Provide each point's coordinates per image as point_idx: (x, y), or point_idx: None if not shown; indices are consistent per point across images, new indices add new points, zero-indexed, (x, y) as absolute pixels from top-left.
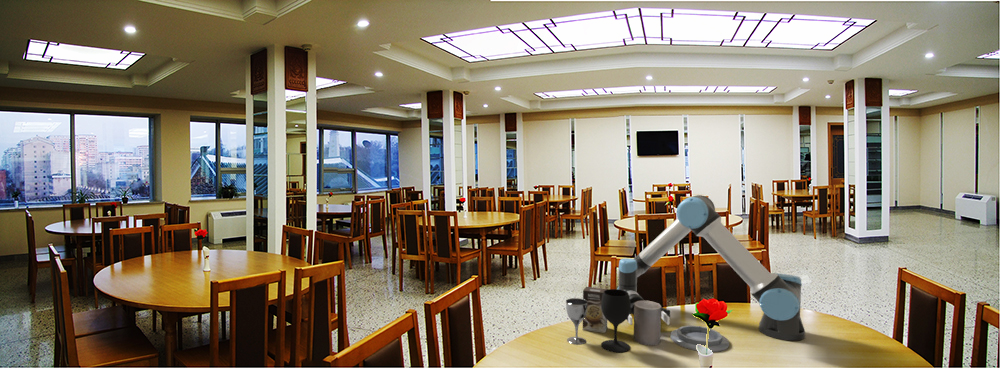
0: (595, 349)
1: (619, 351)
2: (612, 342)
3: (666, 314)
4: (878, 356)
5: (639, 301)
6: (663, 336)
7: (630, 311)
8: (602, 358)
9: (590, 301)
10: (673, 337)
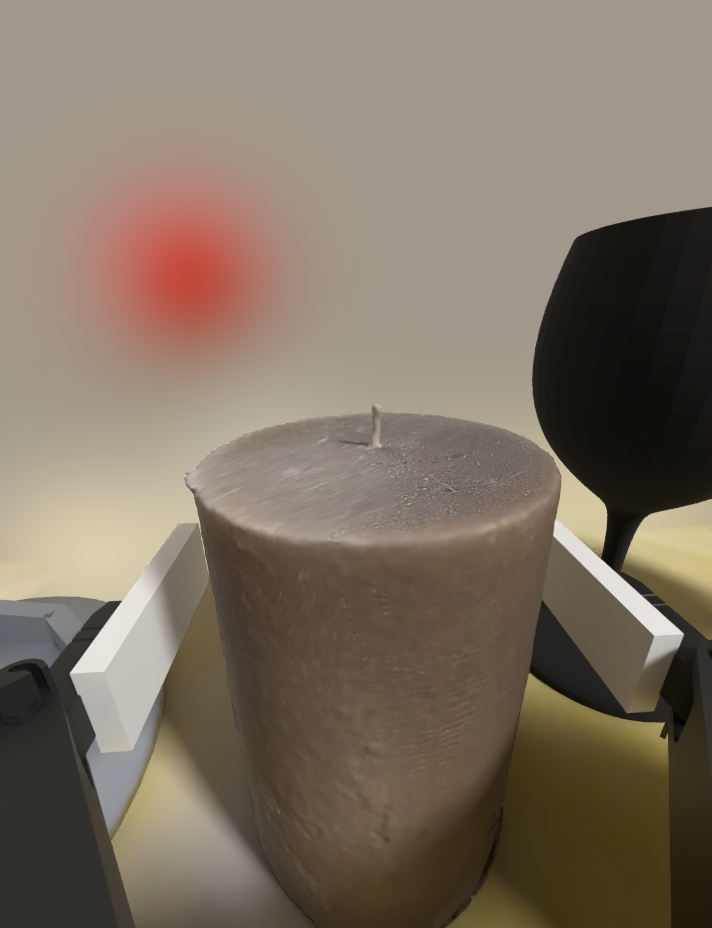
0: (684, 598)
1: None
2: None
3: (139, 577)
4: None
5: (491, 494)
6: (151, 907)
7: (692, 894)
8: (595, 537)
9: None
10: (117, 770)
